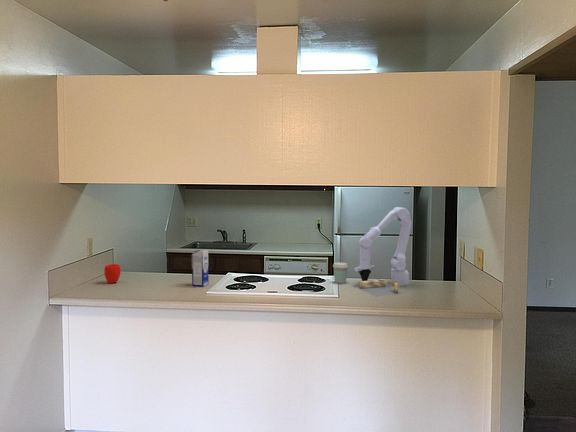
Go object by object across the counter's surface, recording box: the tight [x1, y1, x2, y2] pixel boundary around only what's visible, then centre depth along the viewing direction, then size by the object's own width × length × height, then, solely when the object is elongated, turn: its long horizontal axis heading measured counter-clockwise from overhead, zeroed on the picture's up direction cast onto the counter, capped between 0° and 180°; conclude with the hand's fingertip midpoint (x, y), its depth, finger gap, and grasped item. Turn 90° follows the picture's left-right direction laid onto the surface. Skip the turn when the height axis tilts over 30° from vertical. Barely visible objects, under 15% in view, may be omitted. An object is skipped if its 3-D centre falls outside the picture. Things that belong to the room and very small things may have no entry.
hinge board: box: [353, 285, 407, 297], centre depth 239 cm, size 18×24×1 cm
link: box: [357, 279, 387, 288], centre depth 244 cm, size 16×4×3 cm, turn 110°
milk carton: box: [191, 249, 210, 288], centre depth 251 cm, size 7×7×20 cm
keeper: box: [388, 280, 399, 295], centre depth 233 cm, size 6×2×5 cm, turn 15°
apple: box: [103, 263, 122, 284], centre depth 257 cm, size 9×9×11 cm
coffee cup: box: [332, 261, 349, 285], centre depth 255 cm, size 8×8×12 cm
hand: (364, 283), depth 250 cm, fingers closed
